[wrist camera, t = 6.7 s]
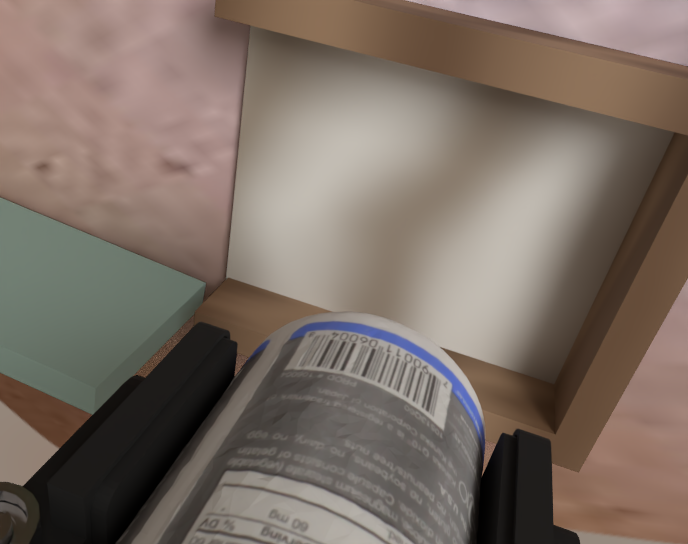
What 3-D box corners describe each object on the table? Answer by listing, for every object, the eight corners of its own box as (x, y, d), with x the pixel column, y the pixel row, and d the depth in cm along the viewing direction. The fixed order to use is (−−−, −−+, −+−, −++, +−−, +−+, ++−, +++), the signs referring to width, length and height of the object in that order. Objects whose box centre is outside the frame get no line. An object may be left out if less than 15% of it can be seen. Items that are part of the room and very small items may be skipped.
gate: (206, 282, 24) (95, 388, 18) (201, 306, 25) (94, 415, 19) (-52, 175, 26) (-233, 240, 20) (-50, 200, 26) (-224, 270, 20)
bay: (747, 80, 16) (786, 103, 13) (574, 414, 22) (578, 472, 20) (260, -34, 18) (214, -33, 16) (227, 297, 25) (190, 337, 22)
